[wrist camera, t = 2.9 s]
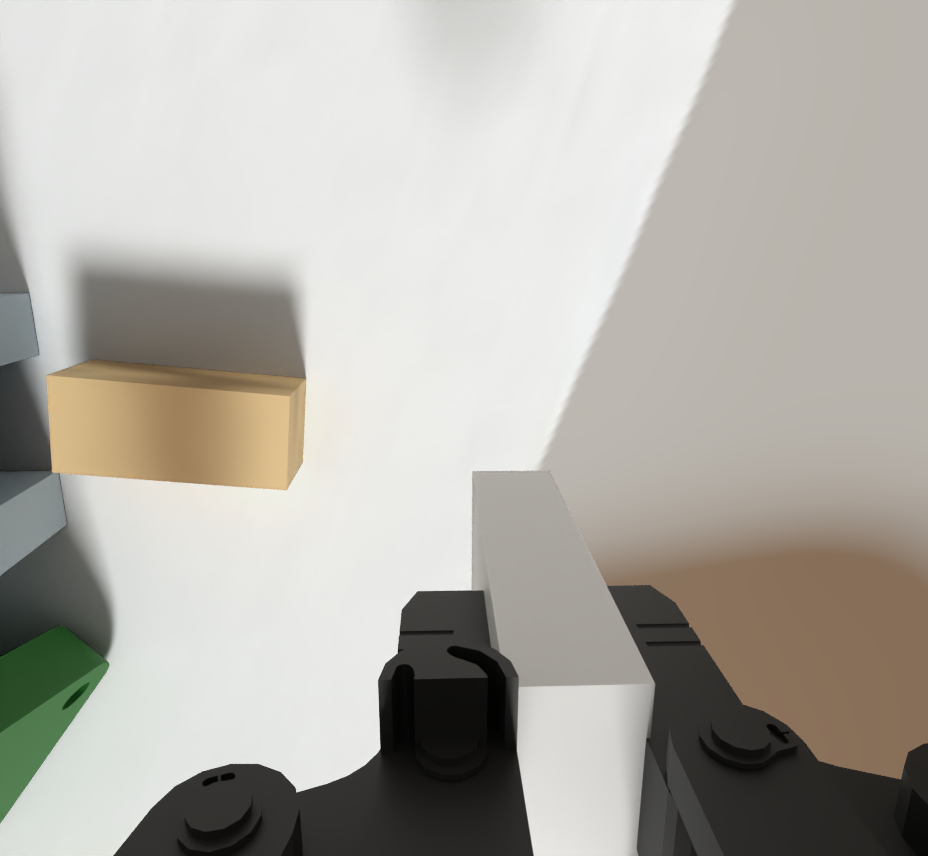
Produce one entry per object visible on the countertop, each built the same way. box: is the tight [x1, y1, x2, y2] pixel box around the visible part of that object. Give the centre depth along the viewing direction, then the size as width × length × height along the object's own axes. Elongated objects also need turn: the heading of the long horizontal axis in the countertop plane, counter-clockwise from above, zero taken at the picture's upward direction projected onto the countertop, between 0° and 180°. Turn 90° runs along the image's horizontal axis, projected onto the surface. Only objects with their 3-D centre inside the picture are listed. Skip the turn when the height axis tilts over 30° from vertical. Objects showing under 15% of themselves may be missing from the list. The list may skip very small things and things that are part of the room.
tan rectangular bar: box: [46, 360, 306, 490], centre depth 22 cm, size 7×3×3 cm, turn 84°
